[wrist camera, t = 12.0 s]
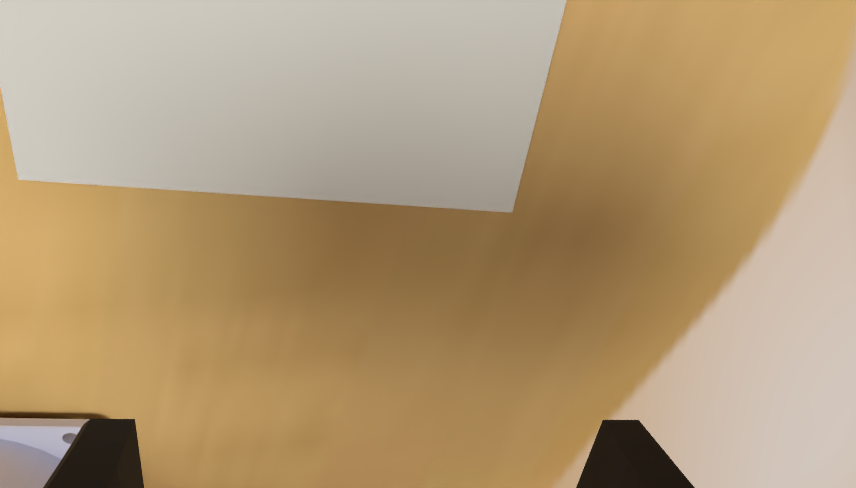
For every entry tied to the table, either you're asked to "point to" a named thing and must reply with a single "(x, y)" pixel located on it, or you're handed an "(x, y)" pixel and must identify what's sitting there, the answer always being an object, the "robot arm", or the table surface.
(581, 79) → the table surface
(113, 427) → the robot arm
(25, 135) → the board
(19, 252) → the table surface
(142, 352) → the table surface
